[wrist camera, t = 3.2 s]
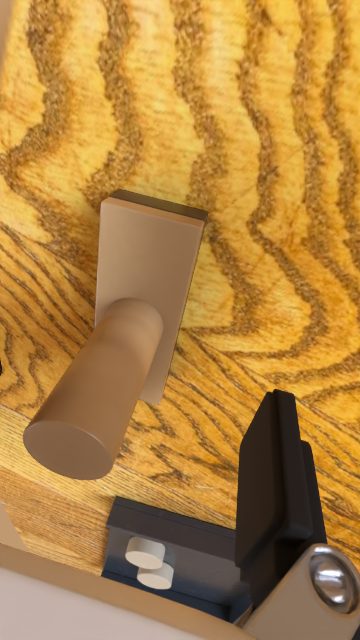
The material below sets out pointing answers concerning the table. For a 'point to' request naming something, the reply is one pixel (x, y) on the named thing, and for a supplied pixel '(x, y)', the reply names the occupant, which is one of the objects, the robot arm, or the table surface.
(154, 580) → the disc
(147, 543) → the disc
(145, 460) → the table surface
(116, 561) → the tray
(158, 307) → the brush
